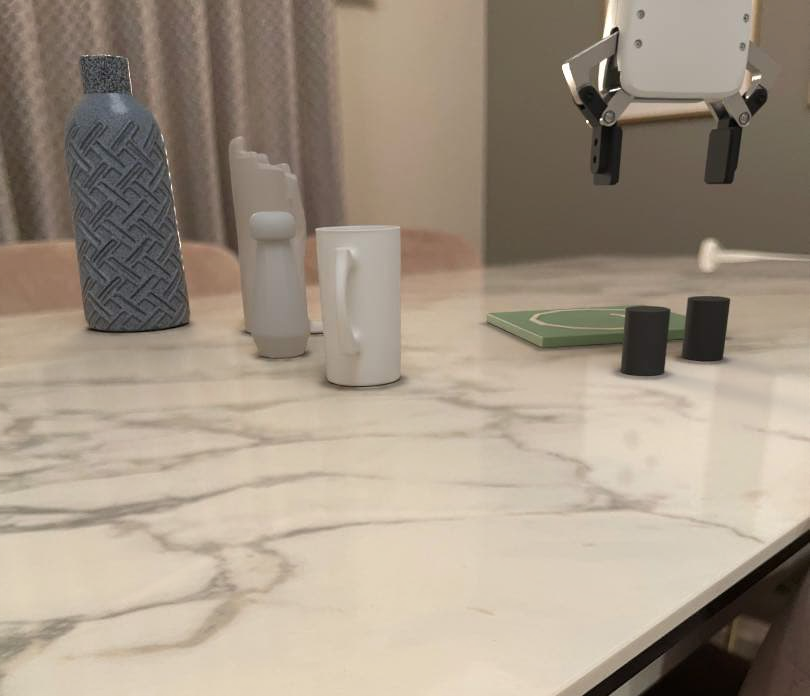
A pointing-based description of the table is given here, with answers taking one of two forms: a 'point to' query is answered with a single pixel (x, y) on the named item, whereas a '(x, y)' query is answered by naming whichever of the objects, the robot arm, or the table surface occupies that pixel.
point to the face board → (574, 325)
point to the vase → (122, 206)
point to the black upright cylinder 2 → (705, 328)
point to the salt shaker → (277, 289)
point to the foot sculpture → (264, 192)
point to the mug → (360, 303)
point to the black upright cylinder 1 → (645, 340)
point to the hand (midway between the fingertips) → (662, 184)
